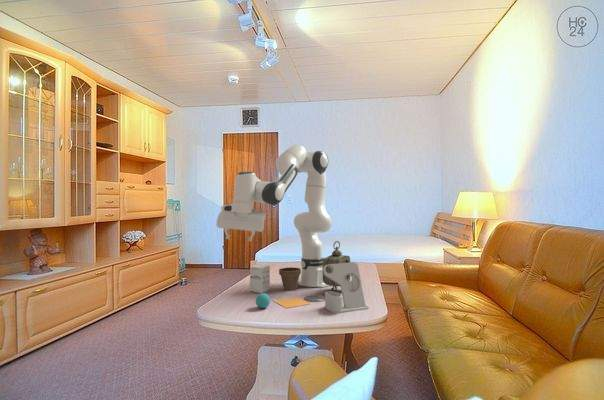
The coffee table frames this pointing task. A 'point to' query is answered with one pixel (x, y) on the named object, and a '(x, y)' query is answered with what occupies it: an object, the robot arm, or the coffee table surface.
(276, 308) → the coffee table surface
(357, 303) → the grey coffee machine
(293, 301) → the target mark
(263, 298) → the ball
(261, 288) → the supplement box
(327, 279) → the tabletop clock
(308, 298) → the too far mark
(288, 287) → the flower pot
